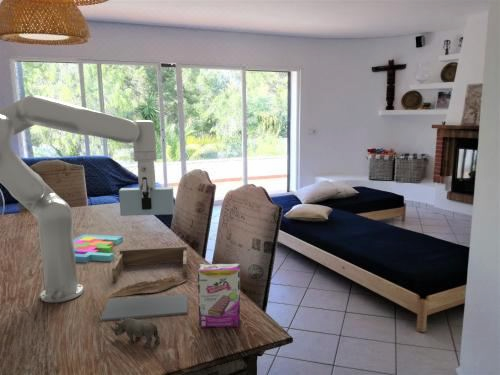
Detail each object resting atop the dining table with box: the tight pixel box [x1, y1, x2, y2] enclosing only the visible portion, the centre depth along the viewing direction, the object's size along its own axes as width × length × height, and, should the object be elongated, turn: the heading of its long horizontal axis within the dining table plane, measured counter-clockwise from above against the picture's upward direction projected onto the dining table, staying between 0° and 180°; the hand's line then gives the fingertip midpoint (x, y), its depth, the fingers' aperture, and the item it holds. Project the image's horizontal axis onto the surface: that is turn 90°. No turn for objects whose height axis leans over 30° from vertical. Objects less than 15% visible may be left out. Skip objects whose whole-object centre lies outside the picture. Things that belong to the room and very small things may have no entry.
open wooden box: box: [111, 245, 188, 283], centre depth 147 cm, size 17×25×6 cm
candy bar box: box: [197, 263, 241, 328], centre depth 107 cm, size 11×5×16 cm, turn 92°
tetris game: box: [73, 233, 124, 263], centre depth 171 cm, size 28×3×28 cm
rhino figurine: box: [110, 318, 161, 348], centre depth 101 cm, size 4×14×6 cm, turn 73°
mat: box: [99, 293, 189, 322], centre depth 118 cm, size 12×24×1 cm, turn 98°
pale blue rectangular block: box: [118, 186, 175, 217], centre depth 141 cm, size 4×18×9 cm, turn 97°
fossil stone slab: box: [107, 276, 188, 298], centre depth 132 cm, size 26×11×1 cm, turn 114°
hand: (147, 207), depth 141 cm, fingers closed on pale blue rectangular block, 4 cm apart
